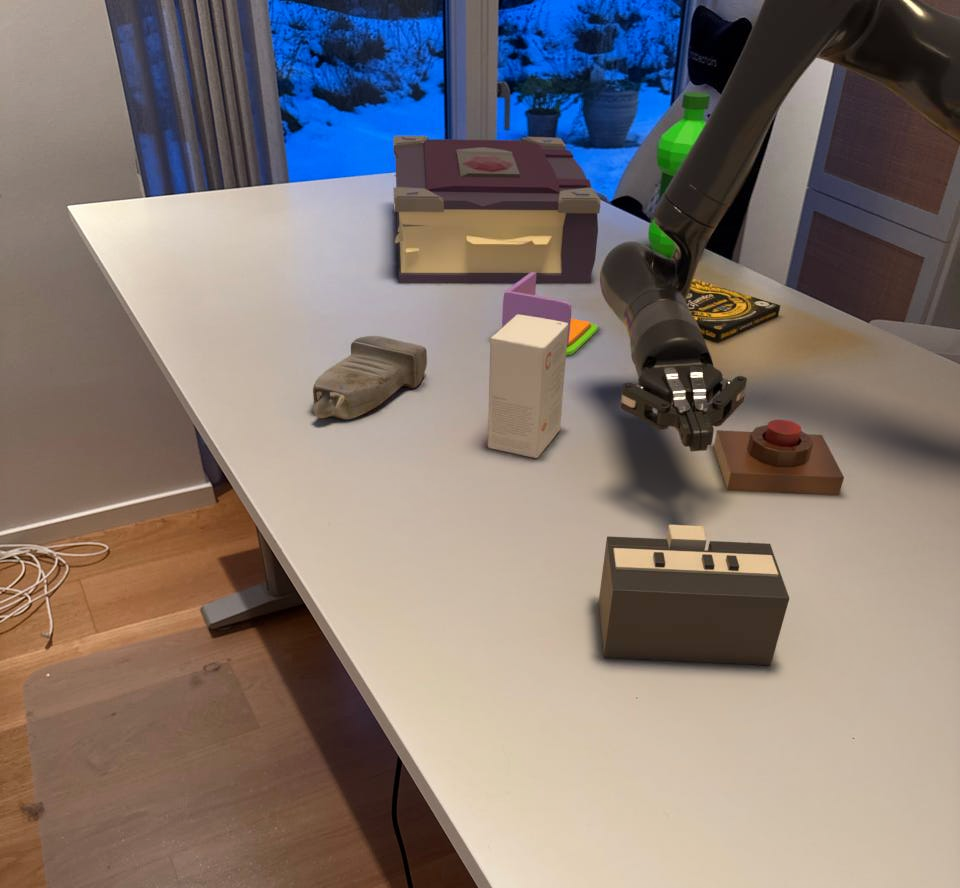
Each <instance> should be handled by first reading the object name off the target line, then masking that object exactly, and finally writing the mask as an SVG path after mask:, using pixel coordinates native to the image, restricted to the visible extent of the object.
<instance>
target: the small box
mask: <svg viewBox="0 0 960 888" xmlns="http://www.w3.org/2000/svg"><path fill="white" fill-rule="evenodd" d="M567 337H568V323H565V322H561V321H556V320H550V319H544V318H538V317H532V316H525V315H518V314H517V315H516V316H515V317H514V318H512V319H511V320H510V321H509V322H508V323H507V324H506V325H505V326H503V327H502V326H501V328H500V329H499V330H497V332H496V333H494V334H492V336H491V337H489V377H488V378H489V379H488V380H489V381H488V415H487V416H488V417H487V418H488V420H487V448H488V449H491V450H497V451H502V452H504V453H505V452H506V453H510V454H515V455H519V456H523V457H529V458H533V459H538V458H539V457H540V456H541V454H542V453H543V452H544V451H545V449H546V448H547V447H548V445H550V443H551V442H552V441H553V440H554V438H555V437H556V436H557V435H558V433H559V432H560V431H561V425H562V413H563V396H564V384H565V372H566V362H567V355H566V350H567Z"/></svg>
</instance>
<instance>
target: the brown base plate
mask: <svg viewBox="0 0 960 888" xmlns="http://www.w3.org/2000/svg"><path fill="white" fill-rule="evenodd" d="M767 425H768V424H766V425H762V426H756V427H755V428H754V429H753V430H752V431H745V430H744V431H741V430H740V431H739V430H722V429H721V430H719V429H718V430H716V432H715V438H714V442H713V450H714V453H715V457H716V460H717V462H718V466H719V469H720V472H721V476H722V478H723V481H724V484H725V487H726V490H727V491H735V492H736V491H737V492H758V493H780V494H781V493H783V494H802V495H804V494H805V495H824V496H825V495H826V496H827V495H829V496H840V493H841V488H842V486H843V482H844V479H845V476H844V474H843V472H842V470H841V469H840V467H839V465H838V463H837V461H836V459H835V457H834V455H833V453H832V451H831V450H830V447H829V446H828V443H827V442H826V440H825V438H824V436H823V434H815V433H813V434H810V433H806V432H804V431H802V430H801V434H800V437H799V441H798V445H797V446H793V447H780V446H776V445H772V444H770V443H768V442H767V441H765V440H764V437H765V433H766V429H767Z"/></svg>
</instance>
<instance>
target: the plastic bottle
mask: <svg viewBox="0 0 960 888" xmlns="http://www.w3.org/2000/svg"><path fill="white" fill-rule="evenodd" d="M710 97H711V95H710V94H709V93H705V92H695V91H694V92H691V91H689V92H683V95H682V100H681V108H683V109H684V110H683V117H682V118H681V119H680V120H679V121H677V122H676V123H675V124H673V125H672V126H671V127H669V128H668V129H667V130H666V131H665V132H664V133H662V135H661V136H660V138H659V140H658V143H657V146H656V147H657V149H656V162H657V166H658V168H659V169H660V171H661V176H660V183H659V191H658V199H657V203H658V202H659V200H660V199H661V197H662V195H663V194H664V193H665V190H666V189H667V187H668V185H669V184H670V182H671V180H672V179H673V177H674V175H675V174H676V172H677V171H678V169H679V167H680V166H681V164H682V162H683V161H684V159H685V158H686V156H687V154H688V153H689V151H690V149H691V148H692V146H693V144H694V143H695V141H696V139H697V138H698V136H699V134H700V133H701V131H702V129H703V127H704V126H705V124H706V122H707V121H705V119H704V116H705V110H708V109H709V105H710ZM648 241H649V246H650V247H651V248H650V249H652V250H654V251H656V252H658V253H660V254H662V255H664V256H666V257H668V258H671V257H672V255H673V253H674V250H675V243H674V242H673V241H672V240H671V239H670V238H669V237H667V236H666V235H665V234H664V233H663V232H662V231H661V230H660V229H659V228H658V227H657V225H656V224H655V221H654V218H653V219H652V220H651V222H650V224H649V227H648Z"/></svg>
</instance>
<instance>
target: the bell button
mask: <svg viewBox="0 0 960 888" xmlns="http://www.w3.org/2000/svg"><path fill="white" fill-rule="evenodd" d="M766 425H767V429H766V433H765V437H764V440H765V441H767V442H768V443H770V444H772V445H776V446H780V447H793V446H797V445H798V441H799V437H800V434H801V431H802V427H801V426H800V425H799V424H798V423H797V422H795V421H791V420H788V419H773V420H770V421H769V422H767V424H766Z"/></svg>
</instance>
